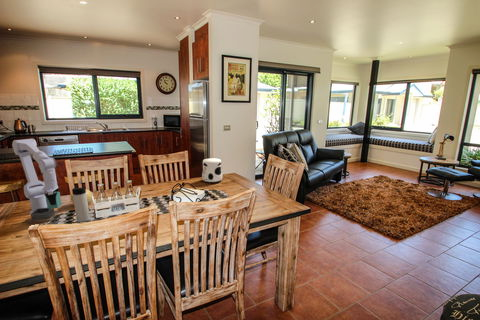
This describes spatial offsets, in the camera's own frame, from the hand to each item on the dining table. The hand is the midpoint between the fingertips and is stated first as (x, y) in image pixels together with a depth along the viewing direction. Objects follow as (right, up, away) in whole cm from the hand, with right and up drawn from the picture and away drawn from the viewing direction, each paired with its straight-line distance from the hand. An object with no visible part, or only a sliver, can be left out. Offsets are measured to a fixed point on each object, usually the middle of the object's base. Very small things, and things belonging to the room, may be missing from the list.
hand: (54, 202), depth 145 cm
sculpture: (+3, -5, +21) cm, 22 cm away
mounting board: (-7, -9, +2) cm, 12 cm away
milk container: (+83, +6, +71) cm, 109 cm away
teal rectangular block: (0, -2, +1) cm, 2 cm away
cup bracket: (-7, -8, +2) cm, 11 cm away
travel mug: (+18, -10, -2) cm, 21 cm away
